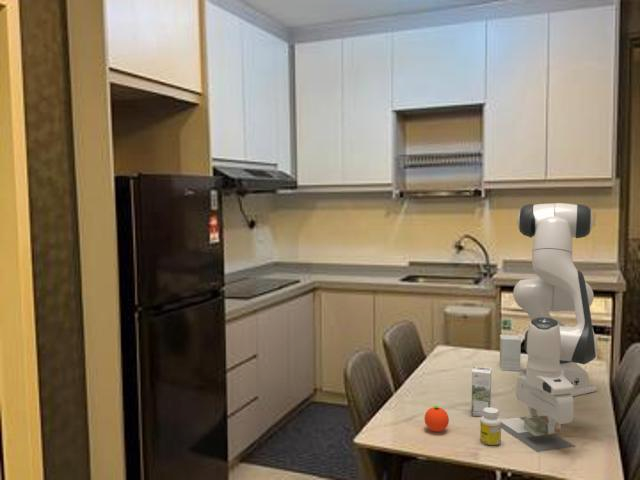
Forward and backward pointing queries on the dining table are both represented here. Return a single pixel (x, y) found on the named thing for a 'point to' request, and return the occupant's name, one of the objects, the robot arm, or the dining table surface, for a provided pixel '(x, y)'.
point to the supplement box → (510, 352)
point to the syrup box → (480, 390)
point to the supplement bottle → (490, 428)
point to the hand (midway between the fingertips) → (542, 426)
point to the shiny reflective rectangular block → (539, 426)
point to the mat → (535, 442)
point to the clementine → (436, 419)
